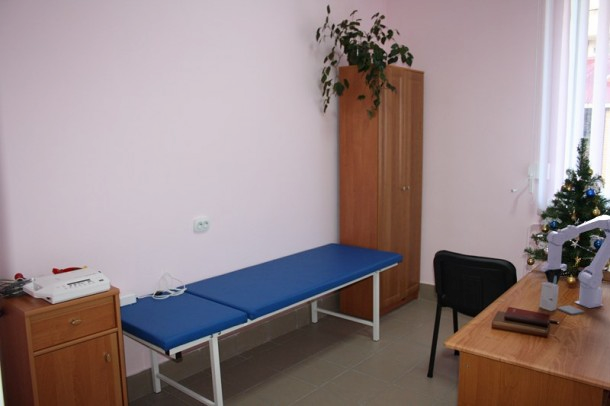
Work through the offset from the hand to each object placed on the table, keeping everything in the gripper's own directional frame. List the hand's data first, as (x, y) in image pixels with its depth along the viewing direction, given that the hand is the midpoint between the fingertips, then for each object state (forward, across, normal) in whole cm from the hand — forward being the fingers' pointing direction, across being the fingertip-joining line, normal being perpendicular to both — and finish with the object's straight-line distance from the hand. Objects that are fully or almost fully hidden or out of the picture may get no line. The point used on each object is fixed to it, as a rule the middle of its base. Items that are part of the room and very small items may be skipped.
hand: (552, 284), depth 223 cm
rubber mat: (+10, 0, +10) cm, 14 cm away
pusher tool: (+4, 0, 0) cm, 4 cm away
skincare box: (+10, +7, +4) cm, 13 cm away
